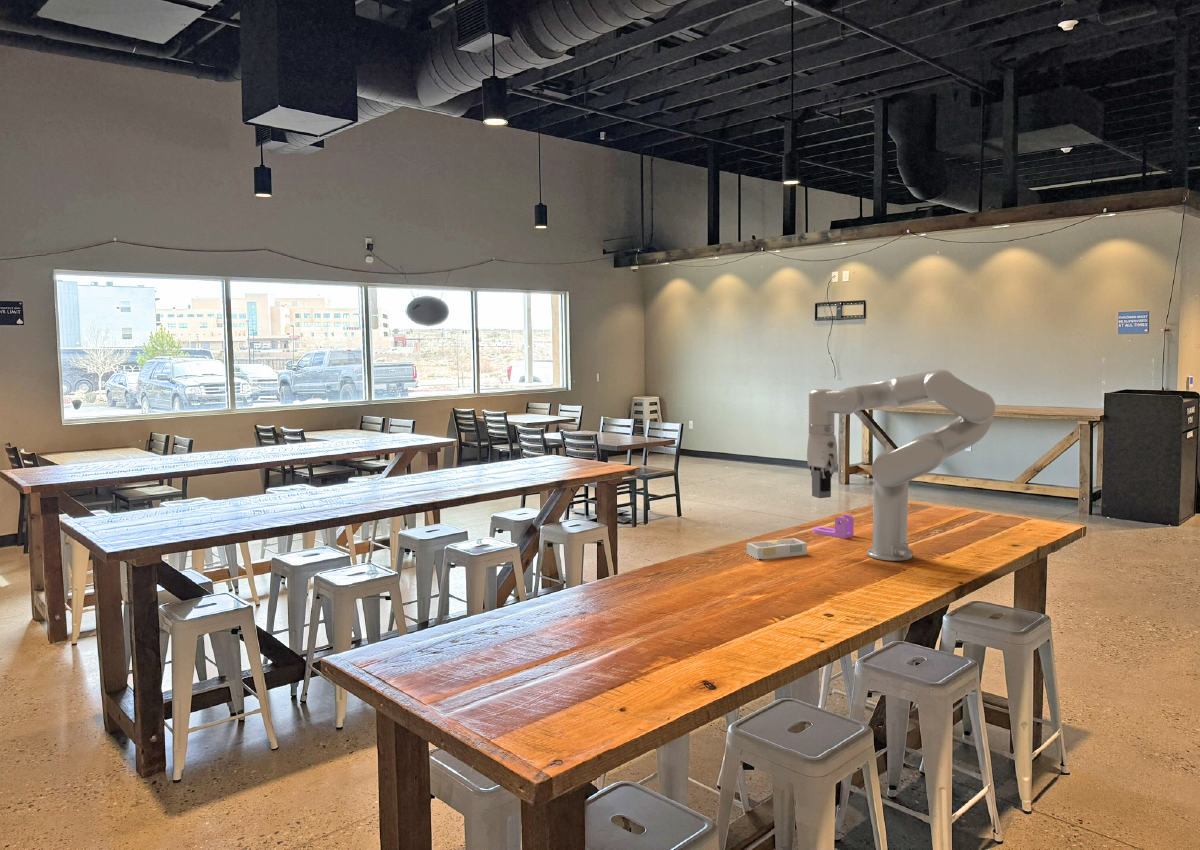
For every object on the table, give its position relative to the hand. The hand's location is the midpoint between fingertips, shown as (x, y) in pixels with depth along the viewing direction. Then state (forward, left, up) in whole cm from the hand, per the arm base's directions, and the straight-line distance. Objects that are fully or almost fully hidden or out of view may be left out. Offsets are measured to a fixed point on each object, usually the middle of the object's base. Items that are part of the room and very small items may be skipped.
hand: (821, 489), depth 248 cm
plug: (0, 0, -2) cm, 2 cm away
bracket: (+16, -15, -19) cm, 29 cm away
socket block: (0, +15, -19) cm, 24 cm away
